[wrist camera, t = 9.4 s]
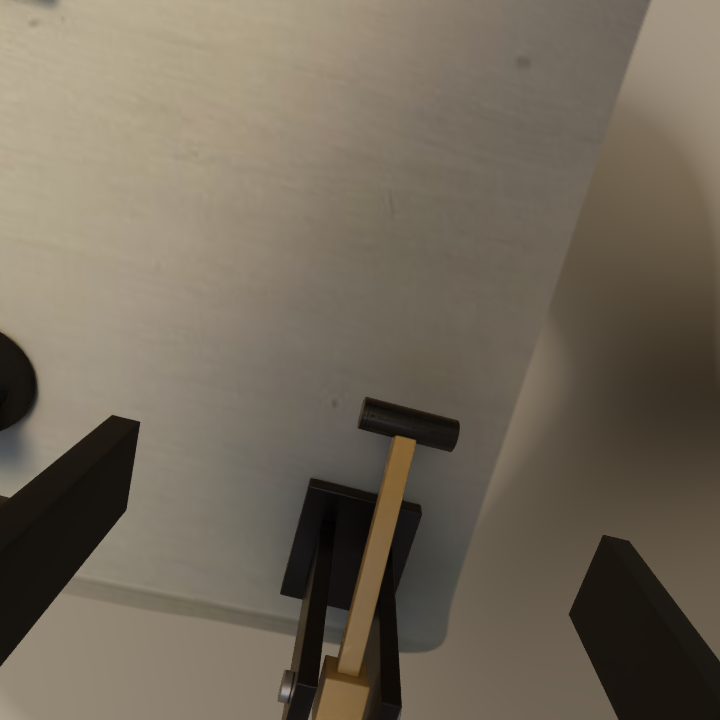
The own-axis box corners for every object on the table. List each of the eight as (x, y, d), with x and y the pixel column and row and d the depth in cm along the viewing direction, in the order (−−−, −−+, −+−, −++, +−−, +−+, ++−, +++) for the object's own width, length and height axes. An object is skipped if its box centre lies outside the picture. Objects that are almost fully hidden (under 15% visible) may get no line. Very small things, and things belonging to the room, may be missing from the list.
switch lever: (363, 396, 30) (367, 396, 27) (453, 419, 30) (464, 421, 28) (285, 702, 29) (281, 730, 26) (379, 724, 29) (384, 753, 27)
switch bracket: (310, 477, 39) (275, 634, 25) (420, 504, 39) (448, 675, 25) (282, 583, 41) (234, 783, 27) (386, 608, 42) (394, 818, 27)
